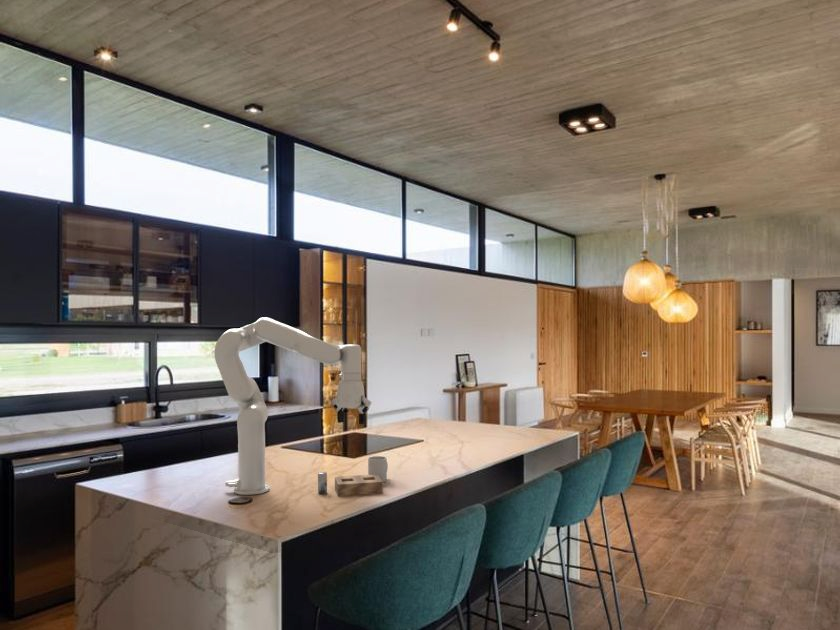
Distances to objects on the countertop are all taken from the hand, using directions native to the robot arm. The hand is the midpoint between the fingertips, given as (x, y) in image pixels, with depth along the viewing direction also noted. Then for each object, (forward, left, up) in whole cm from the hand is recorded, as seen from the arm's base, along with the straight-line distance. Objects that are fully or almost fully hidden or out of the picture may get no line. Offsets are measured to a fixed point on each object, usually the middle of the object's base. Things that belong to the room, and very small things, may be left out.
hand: (351, 423), depth 230 cm
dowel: (-11, -5, -24) cm, 27 cm away
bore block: (+2, -5, -24) cm, 24 cm away
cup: (+12, +8, -24) cm, 28 cm away
